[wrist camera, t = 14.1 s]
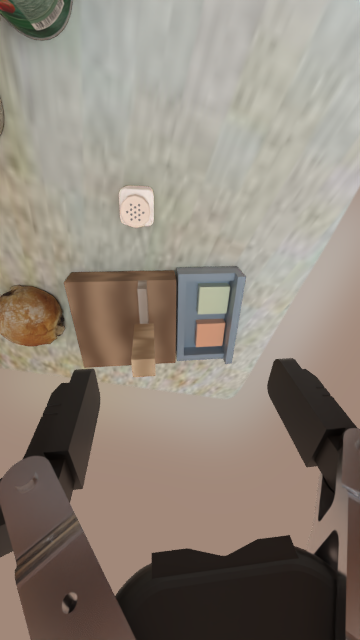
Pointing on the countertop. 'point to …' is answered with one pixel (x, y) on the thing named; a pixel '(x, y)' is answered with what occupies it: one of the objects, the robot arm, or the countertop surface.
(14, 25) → the canned tomato
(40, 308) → the bread roll
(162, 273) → the board
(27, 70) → the countertop surface
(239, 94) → the countertop surface
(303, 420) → the robot arm
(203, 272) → the tray
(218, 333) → the terracotta tile
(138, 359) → the long tan wooden block
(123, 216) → the pepper shaker
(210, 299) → the sage tile
